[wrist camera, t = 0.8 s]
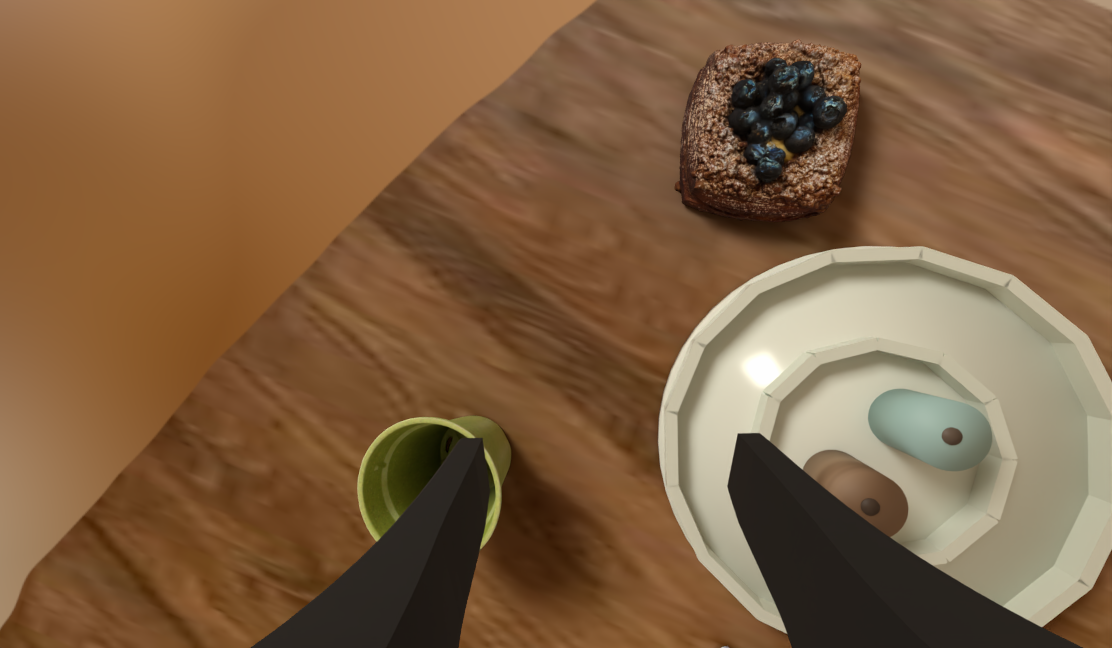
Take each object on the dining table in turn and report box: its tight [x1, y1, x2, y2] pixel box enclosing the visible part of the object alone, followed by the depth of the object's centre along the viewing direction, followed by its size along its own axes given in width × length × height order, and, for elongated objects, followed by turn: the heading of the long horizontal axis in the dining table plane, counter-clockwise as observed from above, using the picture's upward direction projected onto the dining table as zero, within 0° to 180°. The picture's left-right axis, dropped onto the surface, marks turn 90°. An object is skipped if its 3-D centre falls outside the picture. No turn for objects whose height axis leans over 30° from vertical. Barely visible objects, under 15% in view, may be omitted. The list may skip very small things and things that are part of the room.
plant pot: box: [357, 416, 511, 550], centre depth 30 cm, size 9×9×9 cm
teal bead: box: [868, 389, 992, 471], centre depth 26 cm, size 4×4×5 cm
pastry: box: [675, 39, 861, 222], centre depth 28 cm, size 11×12×6 cm
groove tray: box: [658, 246, 1112, 634], centre depth 29 cm, size 28×28×2 cm
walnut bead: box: [803, 450, 908, 537], centre depth 27 cm, size 4×4×5 cm
